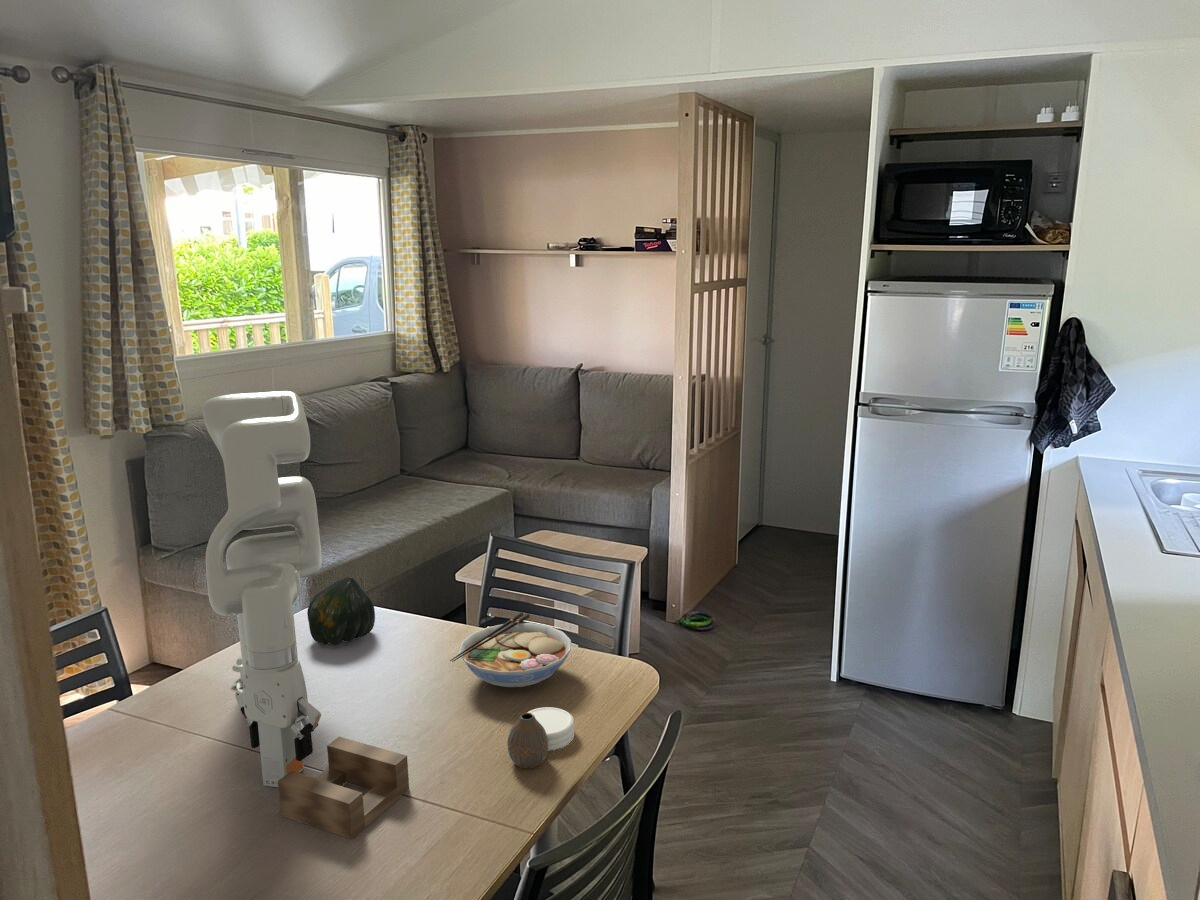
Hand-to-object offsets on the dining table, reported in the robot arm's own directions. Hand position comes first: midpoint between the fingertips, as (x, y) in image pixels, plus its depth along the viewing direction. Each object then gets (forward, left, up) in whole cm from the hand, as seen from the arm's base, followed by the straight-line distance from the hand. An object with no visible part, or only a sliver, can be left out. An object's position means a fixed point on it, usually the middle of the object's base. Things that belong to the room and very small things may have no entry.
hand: (282, 750), depth 147 cm
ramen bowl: (+18, +46, -6) cm, 50 cm away
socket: (+14, -1, -5) cm, 15 cm away
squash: (-28, +47, -6) cm, 55 cm away
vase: (+35, +21, -6) cm, 41 cm away
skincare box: (0, 0, -6) cm, 6 cm away
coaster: (+34, +30, -6) cm, 45 cm away
